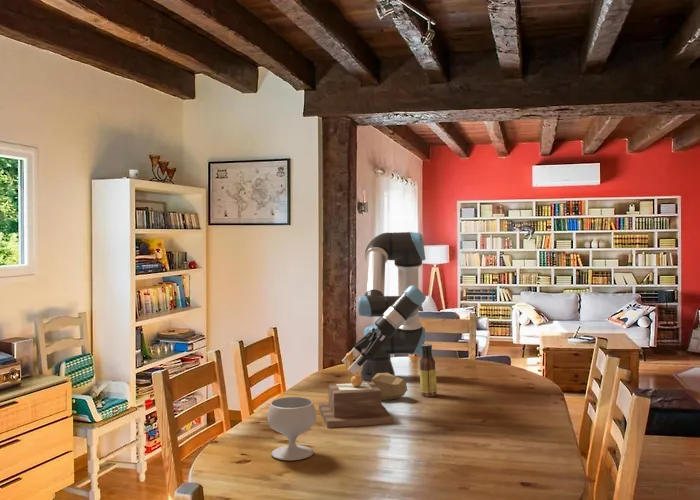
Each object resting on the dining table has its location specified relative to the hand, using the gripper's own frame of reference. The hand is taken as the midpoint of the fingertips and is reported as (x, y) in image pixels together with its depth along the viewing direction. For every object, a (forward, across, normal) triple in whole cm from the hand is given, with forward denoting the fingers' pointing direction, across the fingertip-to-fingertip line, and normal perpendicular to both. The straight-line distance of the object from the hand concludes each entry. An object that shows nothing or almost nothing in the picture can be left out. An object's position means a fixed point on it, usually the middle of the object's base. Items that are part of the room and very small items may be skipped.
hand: (347, 367), depth 213 cm
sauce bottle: (-13, +21, -37) cm, 44 cm away
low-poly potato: (-1, +19, -26) cm, 32 cm away
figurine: (+3, 0, -6) cm, 7 cm away
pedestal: (+10, 0, -14) cm, 17 cm away
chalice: (+28, -33, +3) cm, 43 cm away
